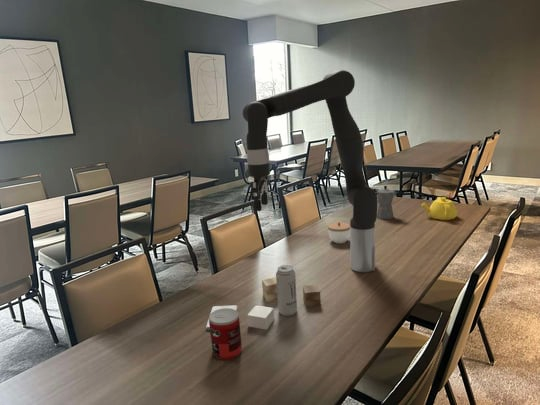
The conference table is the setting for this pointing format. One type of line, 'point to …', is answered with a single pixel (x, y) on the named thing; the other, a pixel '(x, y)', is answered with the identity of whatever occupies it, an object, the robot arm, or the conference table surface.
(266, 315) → the pale grey block
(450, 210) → the teapot
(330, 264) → the conference table surface
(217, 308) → the external hard drive
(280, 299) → the energy drink can
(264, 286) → the oak block
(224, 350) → the canned food
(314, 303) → the walnut block
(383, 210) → the coffeepot
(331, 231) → the lidded jar
